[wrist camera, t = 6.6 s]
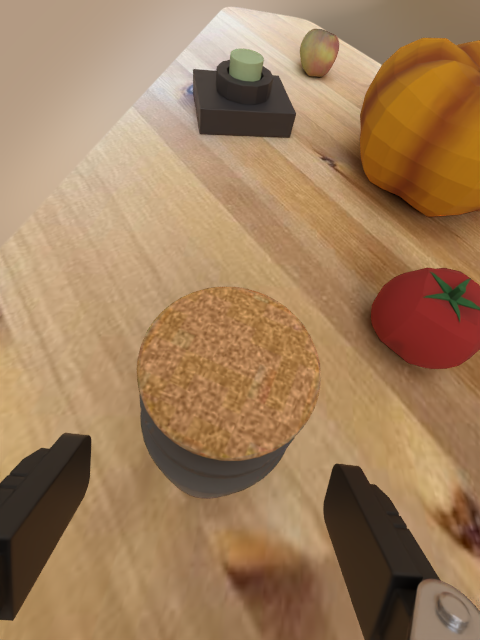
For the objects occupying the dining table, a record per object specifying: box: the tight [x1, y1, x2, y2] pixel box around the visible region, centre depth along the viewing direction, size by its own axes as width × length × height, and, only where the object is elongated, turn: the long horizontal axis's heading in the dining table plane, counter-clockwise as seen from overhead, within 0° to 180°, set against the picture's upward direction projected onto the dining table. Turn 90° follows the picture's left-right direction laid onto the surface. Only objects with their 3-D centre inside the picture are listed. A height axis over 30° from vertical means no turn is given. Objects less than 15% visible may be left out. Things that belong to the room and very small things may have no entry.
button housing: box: [193, 60, 296, 137], centre depth 41 cm, size 12×10×5 cm
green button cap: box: [229, 49, 264, 82], centre depth 38 cm, size 4×4×2 cm
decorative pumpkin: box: [360, 38, 480, 217], centre depth 34 cm, size 20×22×15 cm
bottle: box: [137, 287, 321, 498], centre depth 14 cm, size 6×6×15 cm
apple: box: [300, 29, 339, 77], centre depth 50 cm, size 6×8×6 cm
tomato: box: [371, 268, 480, 369], centre depth 24 cm, size 8×8×7 cm
